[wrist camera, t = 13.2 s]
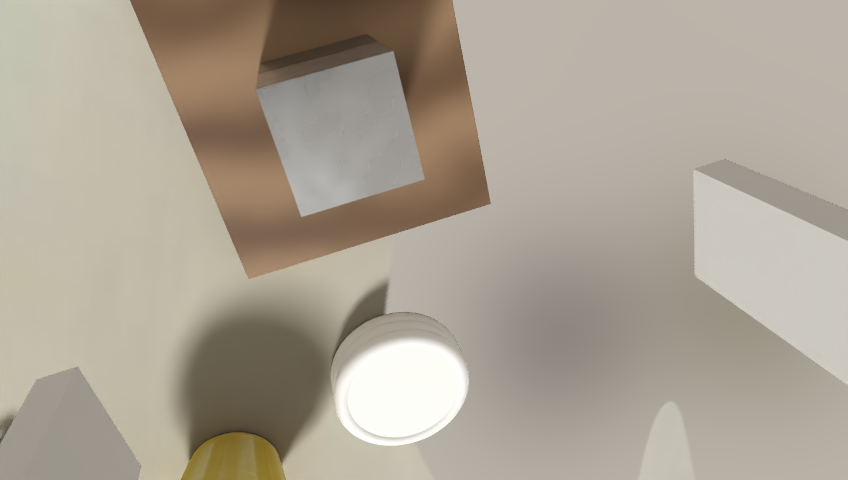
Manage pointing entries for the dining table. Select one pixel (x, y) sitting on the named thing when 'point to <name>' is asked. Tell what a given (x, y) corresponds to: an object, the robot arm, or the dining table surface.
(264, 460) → the plant pot
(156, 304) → the dining table surface
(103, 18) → the dining table surface
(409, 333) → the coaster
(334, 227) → the cutting board
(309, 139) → the block
